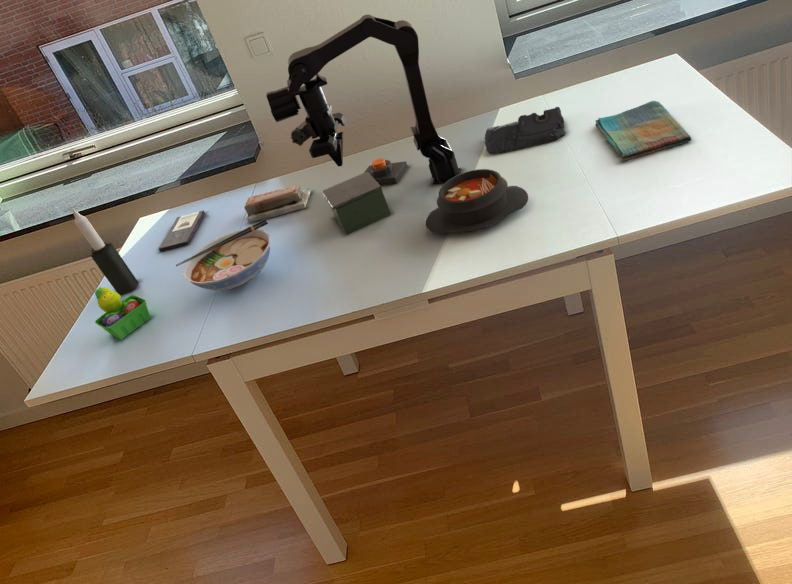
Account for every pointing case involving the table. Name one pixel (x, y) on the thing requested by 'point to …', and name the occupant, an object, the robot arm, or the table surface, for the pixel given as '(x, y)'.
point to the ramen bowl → (229, 259)
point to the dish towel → (642, 130)
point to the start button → (379, 164)
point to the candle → (107, 258)
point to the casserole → (474, 202)
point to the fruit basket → (120, 312)
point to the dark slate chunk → (525, 132)
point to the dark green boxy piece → (362, 211)
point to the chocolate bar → (182, 231)
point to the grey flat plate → (350, 190)
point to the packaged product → (276, 203)
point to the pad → (388, 172)
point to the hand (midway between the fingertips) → (340, 165)
